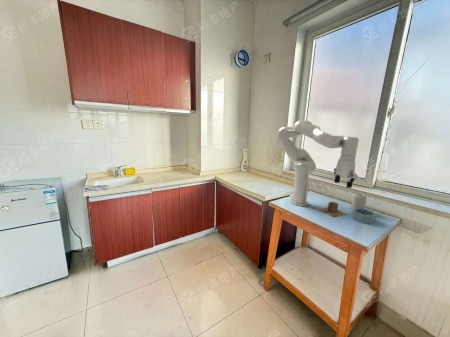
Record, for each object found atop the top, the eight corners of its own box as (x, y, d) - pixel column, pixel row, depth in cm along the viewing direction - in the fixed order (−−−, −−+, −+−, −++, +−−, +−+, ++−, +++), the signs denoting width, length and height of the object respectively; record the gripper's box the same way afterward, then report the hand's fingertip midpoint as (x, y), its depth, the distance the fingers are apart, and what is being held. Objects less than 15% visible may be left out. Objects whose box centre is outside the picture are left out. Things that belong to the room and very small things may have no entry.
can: (348, 209, 131) (351, 192, 129) (354, 207, 135) (357, 191, 132) (360, 213, 125) (363, 196, 122) (366, 211, 128) (369, 194, 126)
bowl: (348, 217, 119) (349, 209, 118) (359, 214, 124) (360, 207, 123) (367, 225, 110) (368, 217, 109) (378, 221, 114) (379, 214, 113)
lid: (318, 210, 130) (319, 201, 128) (330, 207, 135) (331, 198, 133) (334, 217, 119) (335, 207, 118) (346, 214, 124) (348, 205, 123)
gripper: (331, 155, 120) (327, 181, 124) (354, 160, 104) (348, 190, 108) (341, 155, 122) (337, 180, 126) (365, 160, 105) (359, 189, 109)
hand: (342, 185), depth 117 cm, fingers open, 9 cm apart
